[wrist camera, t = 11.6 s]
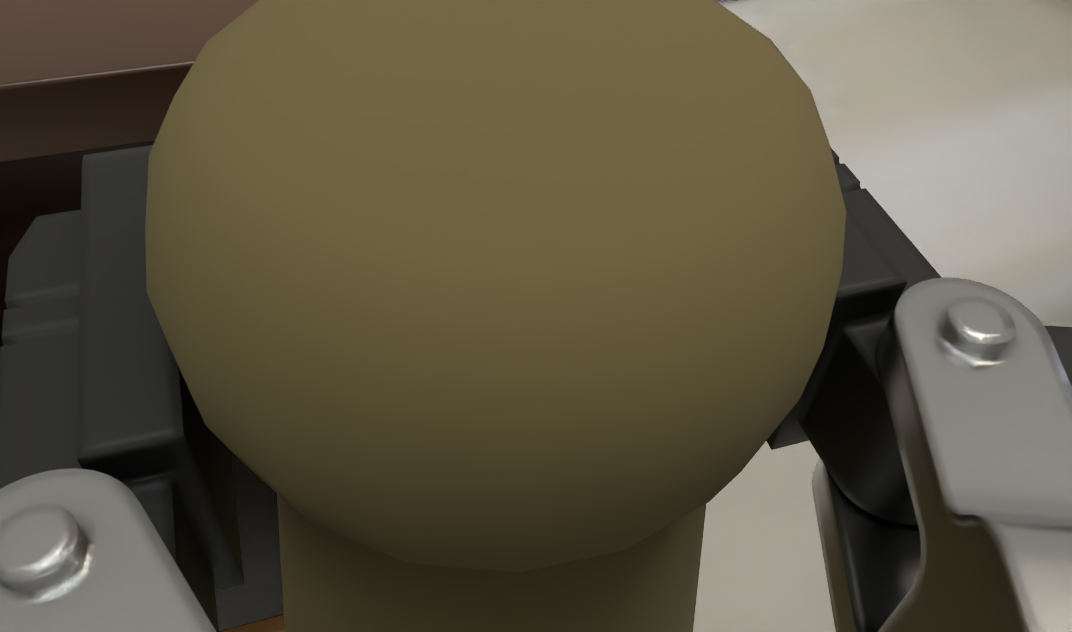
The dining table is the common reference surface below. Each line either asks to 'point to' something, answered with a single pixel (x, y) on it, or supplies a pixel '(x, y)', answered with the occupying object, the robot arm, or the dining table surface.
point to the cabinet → (86, 92)
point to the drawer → (261, 625)
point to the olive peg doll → (493, 294)
